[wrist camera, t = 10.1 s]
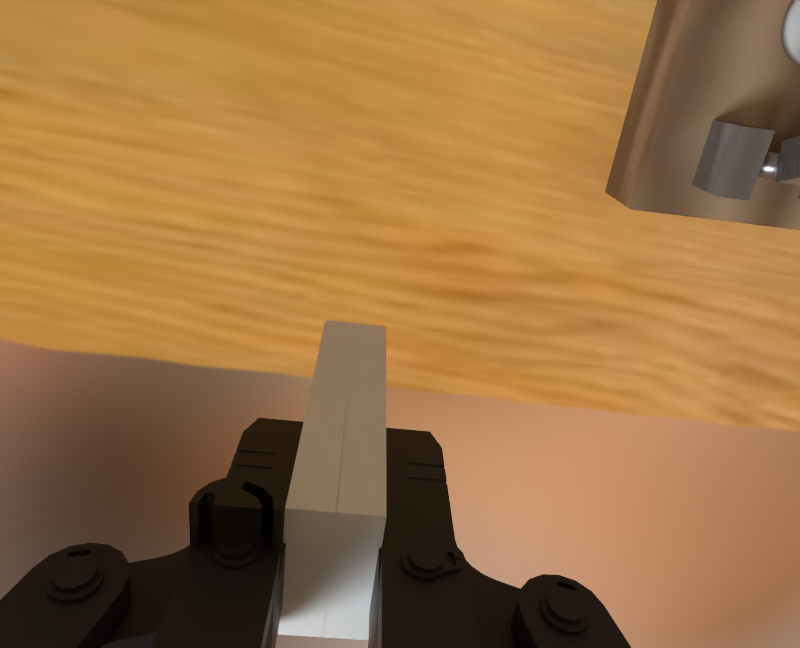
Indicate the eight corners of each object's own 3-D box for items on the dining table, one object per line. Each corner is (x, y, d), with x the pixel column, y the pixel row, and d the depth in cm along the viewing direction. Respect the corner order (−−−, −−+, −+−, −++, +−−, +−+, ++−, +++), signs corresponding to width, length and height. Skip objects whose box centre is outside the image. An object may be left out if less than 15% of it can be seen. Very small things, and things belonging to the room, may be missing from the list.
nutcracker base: (605, 192, 43) (651, 222, 35) (668, -39, 37) (739, -60, 29) (811, 217, 44) (898, 252, 37) (906, -2, 38) (1032, -14, 31)
